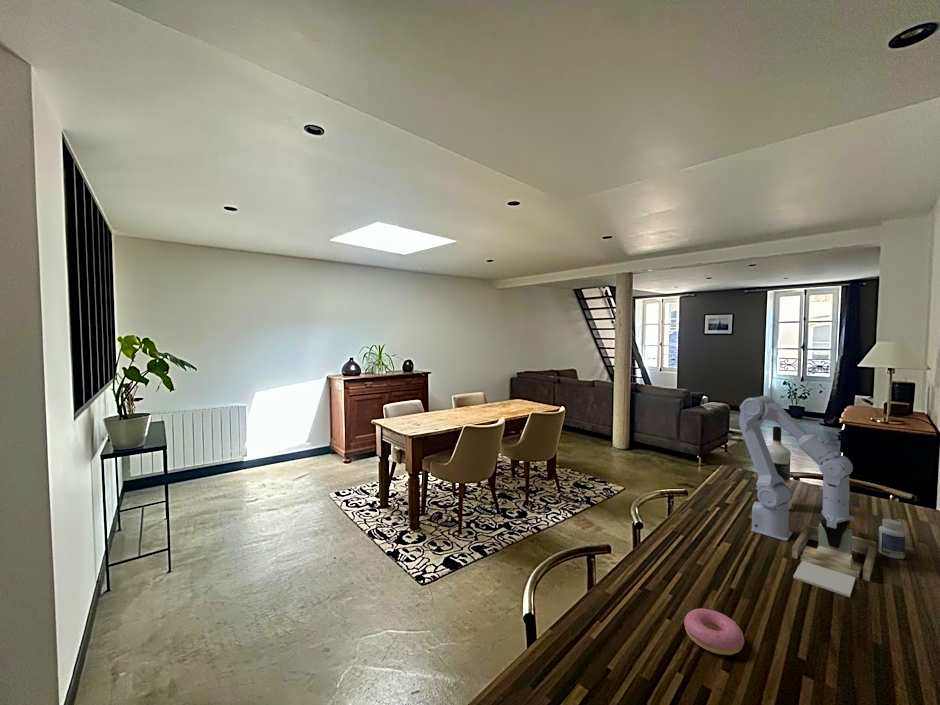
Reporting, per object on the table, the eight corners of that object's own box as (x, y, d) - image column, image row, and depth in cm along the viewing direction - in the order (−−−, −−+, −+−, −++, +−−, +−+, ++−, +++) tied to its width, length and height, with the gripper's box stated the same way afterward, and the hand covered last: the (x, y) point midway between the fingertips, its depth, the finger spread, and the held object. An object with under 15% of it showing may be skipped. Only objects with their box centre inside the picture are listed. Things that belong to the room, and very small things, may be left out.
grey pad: (793, 578, 108) (793, 575, 108) (801, 562, 115) (801, 560, 115) (850, 597, 99) (850, 595, 99) (855, 579, 107) (855, 577, 107)
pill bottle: (910, 560, 116) (911, 526, 116) (887, 558, 117) (888, 524, 117) (894, 550, 121) (895, 518, 121) (873, 549, 122) (874, 516, 122)
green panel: (818, 551, 121) (818, 525, 121) (819, 548, 123) (820, 521, 123) (850, 561, 116) (850, 533, 115) (851, 557, 118) (852, 529, 117)
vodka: (763, 499, 161) (764, 423, 160) (793, 505, 154) (795, 426, 153) (758, 505, 154) (759, 426, 153) (789, 513, 148) (790, 430, 147)
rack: (791, 557, 118) (792, 543, 118) (804, 536, 130) (805, 523, 130) (869, 581, 106) (869, 566, 106) (875, 555, 118) (875, 542, 118)
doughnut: (676, 639, 86) (676, 620, 86) (693, 614, 94) (693, 597, 94) (736, 669, 78) (736, 647, 78) (750, 639, 86) (750, 620, 86)
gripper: (851, 509, 111) (850, 559, 111) (857, 495, 121) (856, 541, 121) (817, 502, 116) (816, 549, 117) (826, 489, 126) (825, 533, 126)
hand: (834, 544), depth 119 cm, fingers closed on green panel, 3 cm apart
